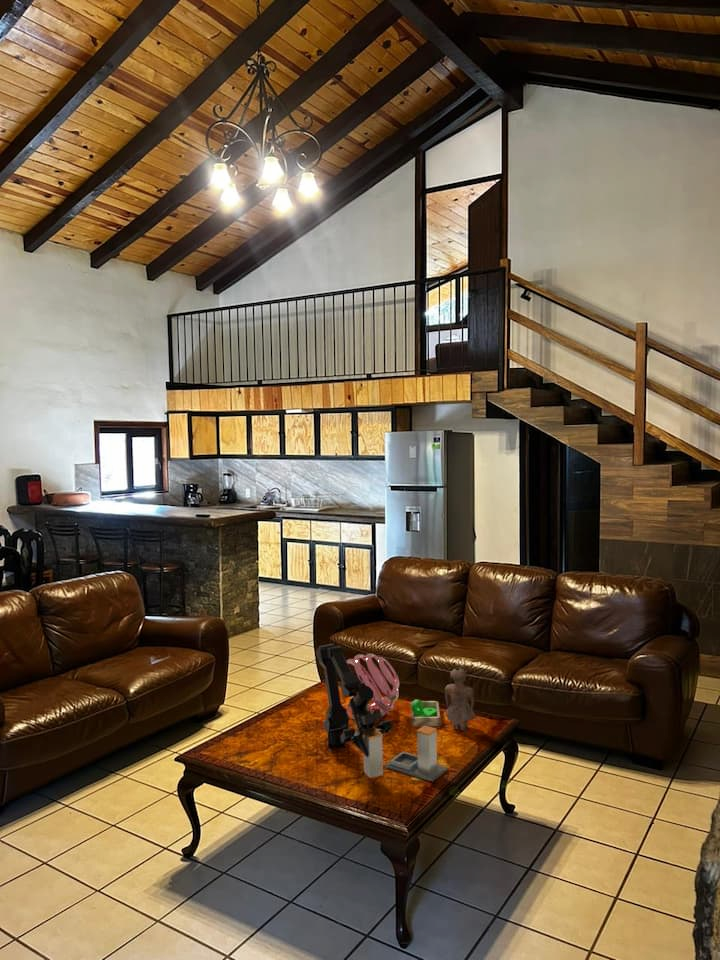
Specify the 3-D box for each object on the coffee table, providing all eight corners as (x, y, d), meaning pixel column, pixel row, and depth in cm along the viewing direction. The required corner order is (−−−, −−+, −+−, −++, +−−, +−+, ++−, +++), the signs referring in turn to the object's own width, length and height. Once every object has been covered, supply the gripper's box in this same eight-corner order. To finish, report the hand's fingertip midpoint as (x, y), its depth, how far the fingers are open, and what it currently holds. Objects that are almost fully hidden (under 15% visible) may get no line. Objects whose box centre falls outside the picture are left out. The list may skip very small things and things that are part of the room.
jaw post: (363, 771, 249) (362, 731, 248) (376, 768, 251) (375, 728, 250) (369, 778, 244) (369, 737, 243) (383, 774, 247) (382, 734, 245)
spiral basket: (314, 678, 299) (366, 643, 295) (335, 672, 325) (383, 640, 321) (348, 738, 290) (402, 703, 286) (367, 727, 317) (416, 694, 313)
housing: (385, 767, 259) (384, 725, 258) (400, 756, 267) (399, 715, 266) (432, 782, 247) (431, 738, 246) (446, 770, 255) (445, 727, 254)
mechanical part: (422, 723, 298) (422, 704, 297) (411, 719, 302) (411, 701, 301) (439, 714, 306) (439, 696, 306) (428, 710, 310) (427, 693, 310)
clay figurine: (478, 725, 292) (477, 666, 291) (471, 735, 284) (470, 674, 282) (449, 720, 298) (447, 663, 296) (441, 730, 289) (439, 670, 287)
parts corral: (411, 726, 294) (411, 717, 294) (411, 708, 312) (410, 701, 312) (440, 725, 293) (440, 717, 293) (438, 708, 311) (438, 701, 311)
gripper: (342, 708, 246) (356, 751, 237) (390, 698, 253) (405, 739, 244) (334, 721, 254) (347, 764, 244) (381, 711, 261) (395, 752, 252)
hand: (374, 754), depth 246 cm, fingers closed on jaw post, 5 cm apart
